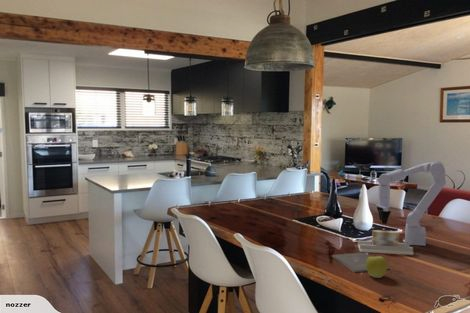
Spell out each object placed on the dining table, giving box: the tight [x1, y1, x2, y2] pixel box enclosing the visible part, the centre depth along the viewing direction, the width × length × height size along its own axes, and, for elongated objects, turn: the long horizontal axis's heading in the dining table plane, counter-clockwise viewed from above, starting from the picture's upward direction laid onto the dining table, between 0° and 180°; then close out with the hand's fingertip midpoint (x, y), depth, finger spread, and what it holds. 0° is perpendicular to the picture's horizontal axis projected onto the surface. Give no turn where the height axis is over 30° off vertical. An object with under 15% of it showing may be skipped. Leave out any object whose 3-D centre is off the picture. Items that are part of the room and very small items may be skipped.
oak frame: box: [371, 229, 401, 246], centre depth 198 cm, size 12×3×8 cm, turn 79°
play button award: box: [331, 252, 390, 273], centre depth 181 cm, size 16×2×20 cm
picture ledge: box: [357, 240, 414, 256], centre depth 199 cm, size 24×10×3 cm, turn 79°
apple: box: [366, 255, 388, 279], centre depth 165 cm, size 8×8×10 cm
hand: (383, 222), depth 216 cm, fingers open, 7 cm apart
